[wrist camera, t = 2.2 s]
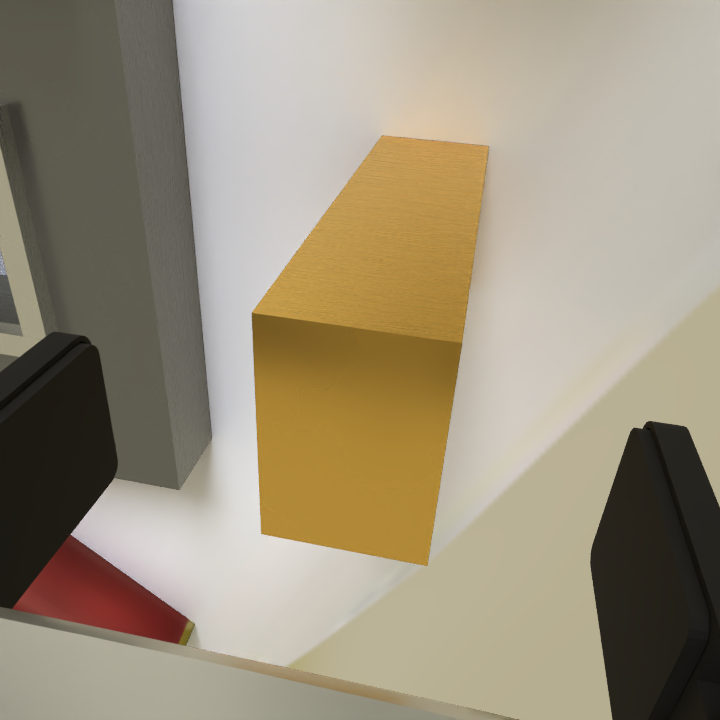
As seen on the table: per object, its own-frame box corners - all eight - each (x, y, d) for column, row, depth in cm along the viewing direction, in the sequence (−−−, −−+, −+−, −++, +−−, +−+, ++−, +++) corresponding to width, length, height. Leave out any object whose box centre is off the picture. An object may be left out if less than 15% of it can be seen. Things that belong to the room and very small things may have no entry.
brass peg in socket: (382, 135, 18) (252, 313, 9) (488, 146, 18) (461, 343, 9) (372, 280, 21) (261, 533, 12) (466, 292, 20) (427, 566, 11)
